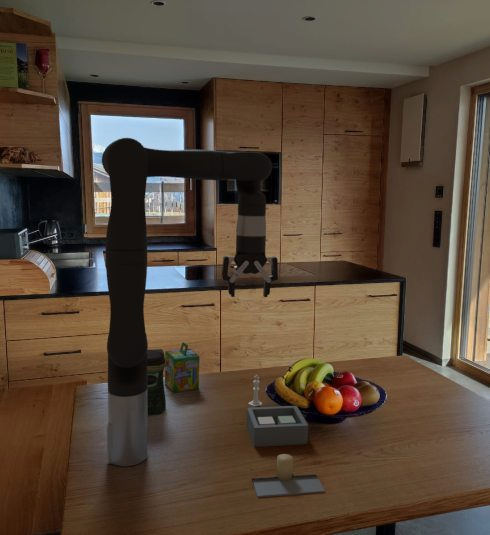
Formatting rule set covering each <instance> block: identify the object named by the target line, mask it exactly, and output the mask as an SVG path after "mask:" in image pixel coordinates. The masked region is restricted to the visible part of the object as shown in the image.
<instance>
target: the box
mask: <svg viewBox="0 0 490 535" xmlns="http://www.w3.org/2000/svg"><path fill="white" fill-rule="evenodd" d="M278 416H293V418H294V420H295V422H296V424H280V425H278ZM257 417H272V418H273V420H274V422H275V425H258V423H257ZM246 427H247V431H248V433H249V436H250V439H251V442H252V445H253V447H274V446H275V447H277V446H292V445H308V442H309V424H308V422H307V421H306V419H305V417H304V415H303V414H302V412H301V411H300V409H299V407H298V406H297V405H284V406H282V405H281V406H253V407H246Z"/></svg>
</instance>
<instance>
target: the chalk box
mask: <svg viewBox="0 0 490 535" xmlns="http://www.w3.org/2000/svg"><path fill="white" fill-rule="evenodd" d="M164 356H165V368H164V385H166V387H168V388H169V390H170V391H172V393H173V394H175V393H179V392H186V391H192V390H199V389H200V388H199V387H200V382H199V381H200V355H199V354H198V353H197V352H196V351H194V350H193V349H192V348H189V345H188V344H187V343H185V341H182V343H181V346H180V349H175V350H167V351H166V350H165V353H164Z"/></svg>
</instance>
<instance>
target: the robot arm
mask: <svg viewBox="0 0 490 535" xmlns="http://www.w3.org/2000/svg"><path fill="white" fill-rule="evenodd" d="M101 164H102V167H103V169H104V172H105V173H106V174H107V175H108V176H109V177H108V178H109V187H110V200H111V201H110V211H109V218H108V222H107V228H106V234H105V273H106V282H107V292H108V296H109V304H110V305H109V306H110V307H109V309H110V317H109V318H110V319H109V329H108V336H107V343H106V350H107V351H106V352H107V415H108V416H107V417H108V418H107V420H108V421H107V425H106V442H107V443H106V449H107V451H106V452H107V454H106V455H107V456H106V458H107V464H108V465H111V464H112V465H114V466H118V467H130V466H131V467H132V466H136V465H138V464H140V463H142V462H144V461H145V460H146V459H148V454H149V452H148V450H149V445H148V432H149V431H148V428H149V427H148V421H149V420H148V416H149V415H148V400H147V399H148V395H147V383H148V378H147V350H149V349H148V348H149V343H148V337H147V336H148V335H147V332H146V324H145V312H144V311H145V310H144V309H145V308H144V306H145V297H146V296H145V294H146V286H147V277H148V276H147V275H148V239H147V238H148V234H147V230H148V229H147V218H146V217H147V214H146V192H147V180H148V178H155V177H158V178H159V177H160V178H161V177H163V178H165V177H167V178H181V179H190V180H199V181H200V180H202V181H228V180H234V181H235V185H236V192H237V196H238V201H237V219H236V226H235V228H236V229H235V255H234V256H227V255H223V257H222V266H221V278H222V280H223V281H226V282H228V291H227V292H228V294H229V295H230V297H231V298H235V296H236V295H235V294H236V293H235V292H236V291H235V289H236V287H235V286H236V283H235V282H236V280H237V278H239V277H240V275H241V274H244V275H245V274H247V275H249V274H253V275H256V274H258V273H259V275H261V277H262V278H263V280H264V281H263V292H262V294H263V295H262V296H263V297H264V298H268V296H270V294H271V284H272V282H274V281H277V280H278V279H279V271H278V270H279V264H278V262H279V261H278V260H279V259H278V258H277V257H276V256H273V255H272V256H271V257H270V256H269V257H268V256H266V242H267V241H266V240H267V221H266V219H267V218H266V217H267V216H266V215H267V214H266V212H267V210H266V209H267V197H266V195H265V194H264V193H263V192H262V190H261V182H263V181H265V180H266V179H268V177H270V175H271V173H272V170H273V164H272V161H271V159H270V157H268V155H266V154H264V153H262V152H259V151H258V152H255V151H240V152H239V151H238V152H237V151H231V152H230V151H224V150H214V149H213V150H211V149H177V150H176V149H175V150H173V149H172V150H169V149H168V150H167V149H156V148H149V147H146V146H144V145H143V144H142V143H141V142H140V141H139V140H137V139H135V138H131V137H122V138H118V139H116V140H114V141H112V142H111V143H109V144H108V145H107V146H106V147H105V149H104V151H103V153H102V156H101ZM233 262H234V263H235V265H236V267H235V269H233V272H232V273H231V274H230V275H228V274H229V266H231V265H232V263H233ZM266 263H268V265H269V266H270V270H271V272H270V273H271V275H268V273H267V272H266V270H265V269H264V267H265V265H266Z"/></svg>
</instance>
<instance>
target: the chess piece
mask: <svg viewBox="0 0 490 535" xmlns="http://www.w3.org/2000/svg"><path fill="white" fill-rule="evenodd" d="M253 378H254V380H253V381H252V383H253V386H254V387H253V388H252V390H253V391H254V393H253V399H252V400H251V401H249V402H248V405H251V406H253V407H261V406H262V405H263V402H261V401H260V400H259V392H258V391H260V390H261V389H260V388H259V385H260V380H259V379H260V377H259V374H255V375H254V376H253Z"/></svg>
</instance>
